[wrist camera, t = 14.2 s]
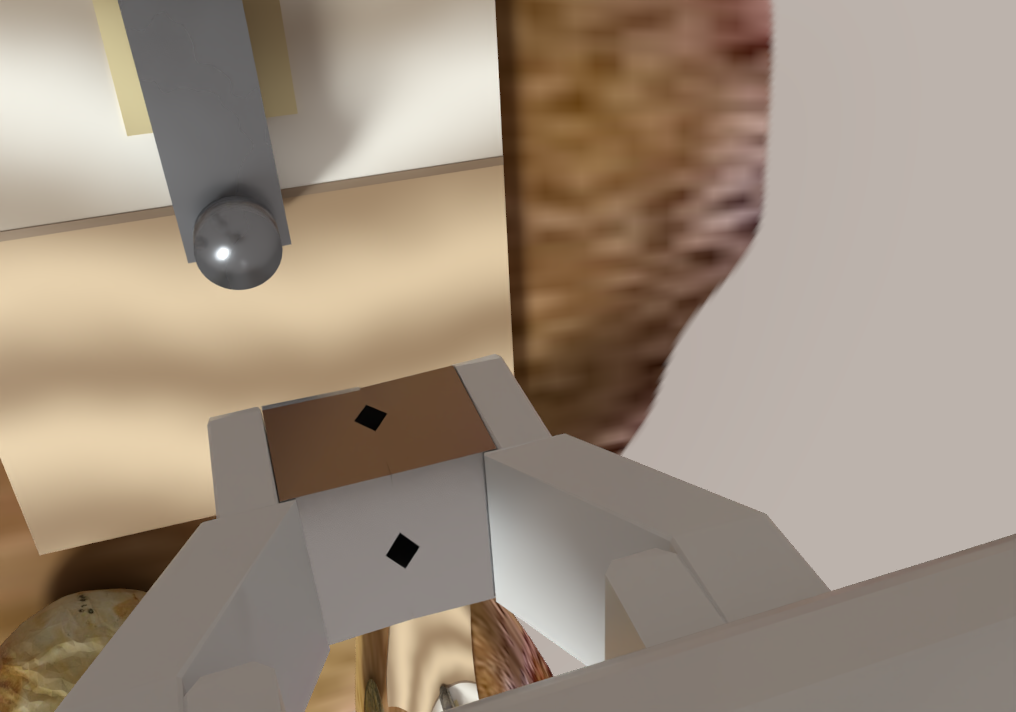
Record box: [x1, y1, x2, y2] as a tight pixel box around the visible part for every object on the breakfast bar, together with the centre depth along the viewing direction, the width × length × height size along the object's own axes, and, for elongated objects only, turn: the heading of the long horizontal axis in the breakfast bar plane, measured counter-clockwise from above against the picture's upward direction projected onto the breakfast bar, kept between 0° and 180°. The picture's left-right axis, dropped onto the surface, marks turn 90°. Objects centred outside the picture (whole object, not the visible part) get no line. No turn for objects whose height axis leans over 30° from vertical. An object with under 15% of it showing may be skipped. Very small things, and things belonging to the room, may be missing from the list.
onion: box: [0, 588, 147, 712], centre depth 35 cm, size 8×8×8 cm
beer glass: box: [355, 598, 554, 712], centre depth 34 cm, size 7×7×15 cm
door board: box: [0, 0, 514, 555], centre depth 29 cm, size 24×18×4 cm
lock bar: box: [118, 0, 291, 290], centre depth 26 cm, size 13×3×4 cm, turn 4°
